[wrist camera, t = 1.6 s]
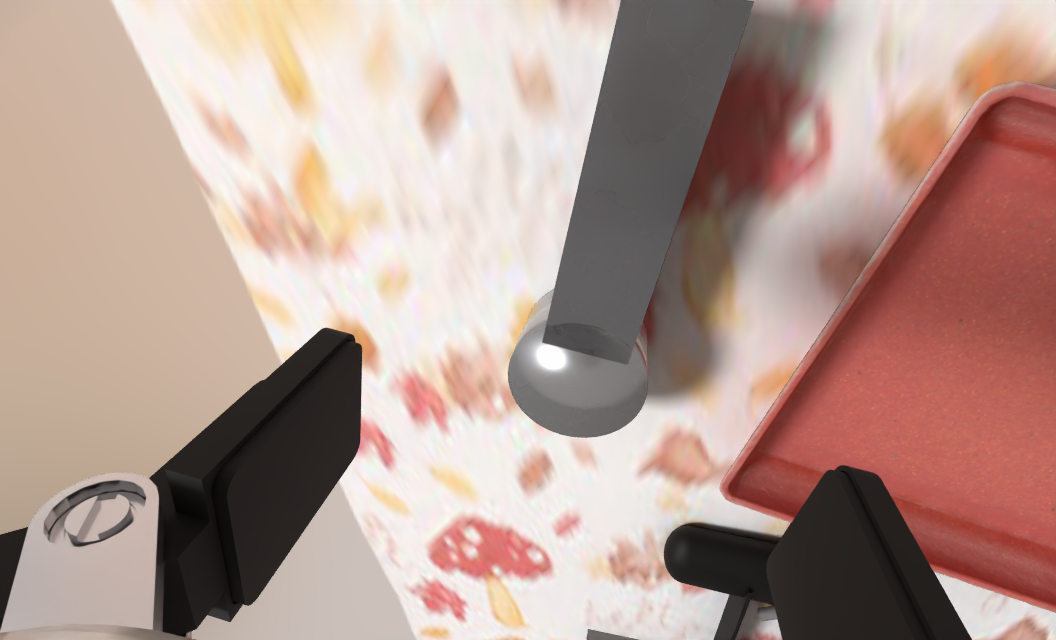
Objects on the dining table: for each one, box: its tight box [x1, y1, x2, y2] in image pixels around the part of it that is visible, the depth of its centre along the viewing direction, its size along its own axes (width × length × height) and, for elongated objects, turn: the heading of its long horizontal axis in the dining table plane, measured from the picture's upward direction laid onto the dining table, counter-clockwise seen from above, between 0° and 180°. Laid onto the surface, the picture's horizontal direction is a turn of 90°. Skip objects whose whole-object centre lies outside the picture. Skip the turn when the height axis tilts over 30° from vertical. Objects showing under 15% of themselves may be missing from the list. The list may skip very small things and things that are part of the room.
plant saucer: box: [720, 81, 1056, 613], centre depth 19 cm, size 18×18×3 cm
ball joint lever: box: [508, 0, 754, 438], centre depth 19 cm, size 16×6×4 cm, turn 170°
